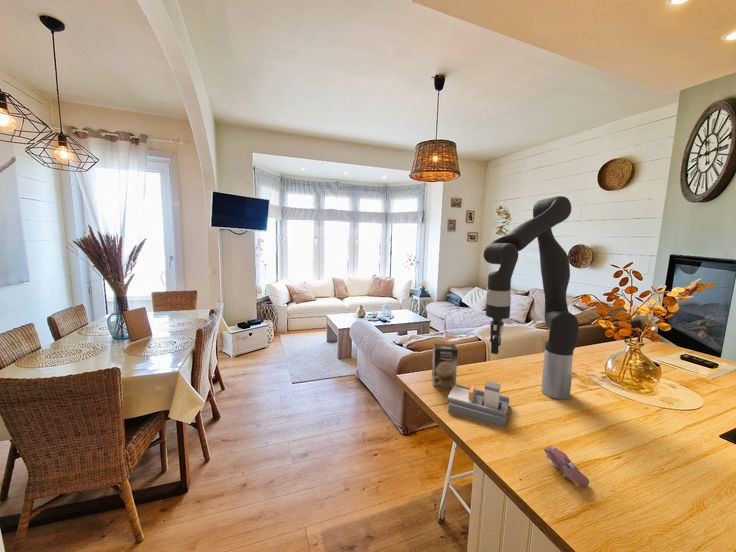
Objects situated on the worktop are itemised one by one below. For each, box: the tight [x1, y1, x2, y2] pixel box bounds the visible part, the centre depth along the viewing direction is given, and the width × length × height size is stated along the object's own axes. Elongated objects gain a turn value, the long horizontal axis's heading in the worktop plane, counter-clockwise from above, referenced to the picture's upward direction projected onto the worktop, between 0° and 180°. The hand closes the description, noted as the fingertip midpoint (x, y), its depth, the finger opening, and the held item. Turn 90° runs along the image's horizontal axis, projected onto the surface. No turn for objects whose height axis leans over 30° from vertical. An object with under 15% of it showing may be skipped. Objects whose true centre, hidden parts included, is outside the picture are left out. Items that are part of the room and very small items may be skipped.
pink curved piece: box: [543, 445, 590, 487], centre depth 76 cm, size 10×5×7 cm, turn 8°
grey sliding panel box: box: [447, 384, 510, 429], centre depth 105 cm, size 18×15×4 cm
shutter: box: [447, 384, 476, 403], centre depth 108 cm, size 8×9×4 cm
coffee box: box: [431, 343, 459, 388], centre depth 123 cm, size 9×6×16 cm
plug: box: [483, 381, 501, 410], centre depth 103 cm, size 4×4×10 cm
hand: (495, 349), depth 102 cm, fingers open, 8 cm apart
